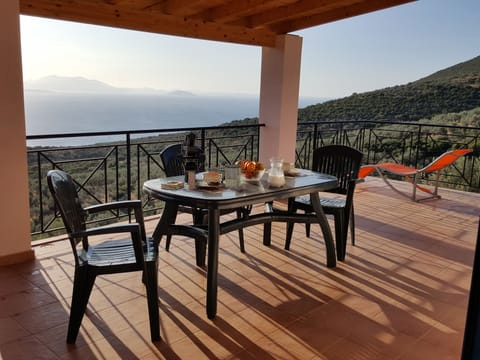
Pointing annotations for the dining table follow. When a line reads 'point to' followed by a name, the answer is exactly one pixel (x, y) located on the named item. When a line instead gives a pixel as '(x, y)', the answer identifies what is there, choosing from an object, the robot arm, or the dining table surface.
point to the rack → (172, 185)
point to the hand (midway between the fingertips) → (191, 168)
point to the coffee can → (232, 175)
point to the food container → (218, 171)
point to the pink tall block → (191, 180)
